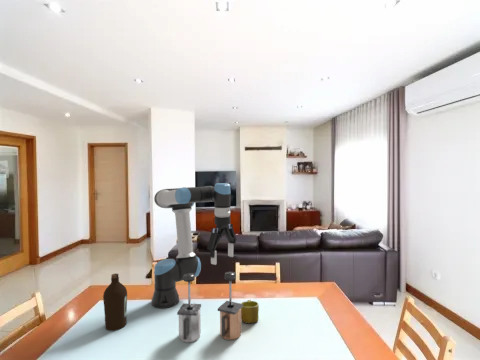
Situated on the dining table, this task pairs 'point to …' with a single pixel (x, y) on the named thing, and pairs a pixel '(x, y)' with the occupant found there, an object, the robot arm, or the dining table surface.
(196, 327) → the plate
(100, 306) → the dining table surface
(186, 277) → the plunger steel
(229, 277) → the plunger copper
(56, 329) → the dining table surface
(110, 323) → the olive oil
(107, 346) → the dining table surface
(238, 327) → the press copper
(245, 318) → the mug
